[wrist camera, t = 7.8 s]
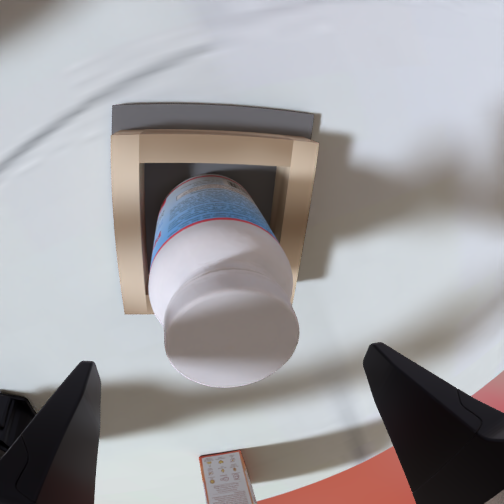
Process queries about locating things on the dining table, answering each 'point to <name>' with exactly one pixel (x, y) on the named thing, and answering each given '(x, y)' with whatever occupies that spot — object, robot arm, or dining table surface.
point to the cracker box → (226, 479)
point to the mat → (172, 174)
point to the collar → (204, 151)
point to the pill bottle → (221, 285)
